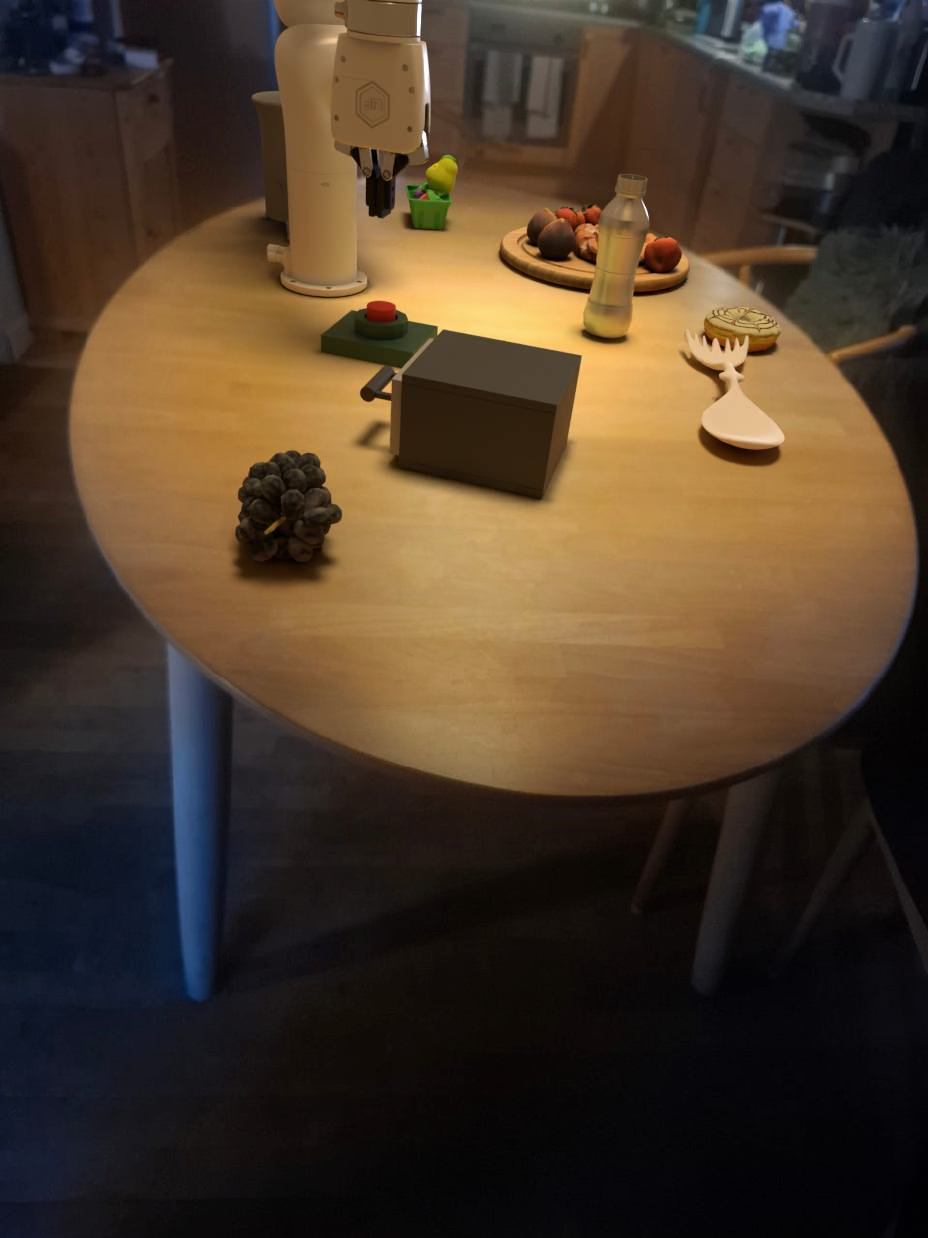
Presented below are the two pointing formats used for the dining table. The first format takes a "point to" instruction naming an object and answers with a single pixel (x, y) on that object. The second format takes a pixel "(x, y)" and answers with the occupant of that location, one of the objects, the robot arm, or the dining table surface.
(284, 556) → the fruit
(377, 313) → the button
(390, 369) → the drawer
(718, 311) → the decorated donut
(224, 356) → the dining table surface
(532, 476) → the cabinet
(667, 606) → the dining table surface
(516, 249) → the wooden plate
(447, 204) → the fruit basket
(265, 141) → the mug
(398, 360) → the control block
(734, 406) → the cream spork
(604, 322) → the plastic bottle
